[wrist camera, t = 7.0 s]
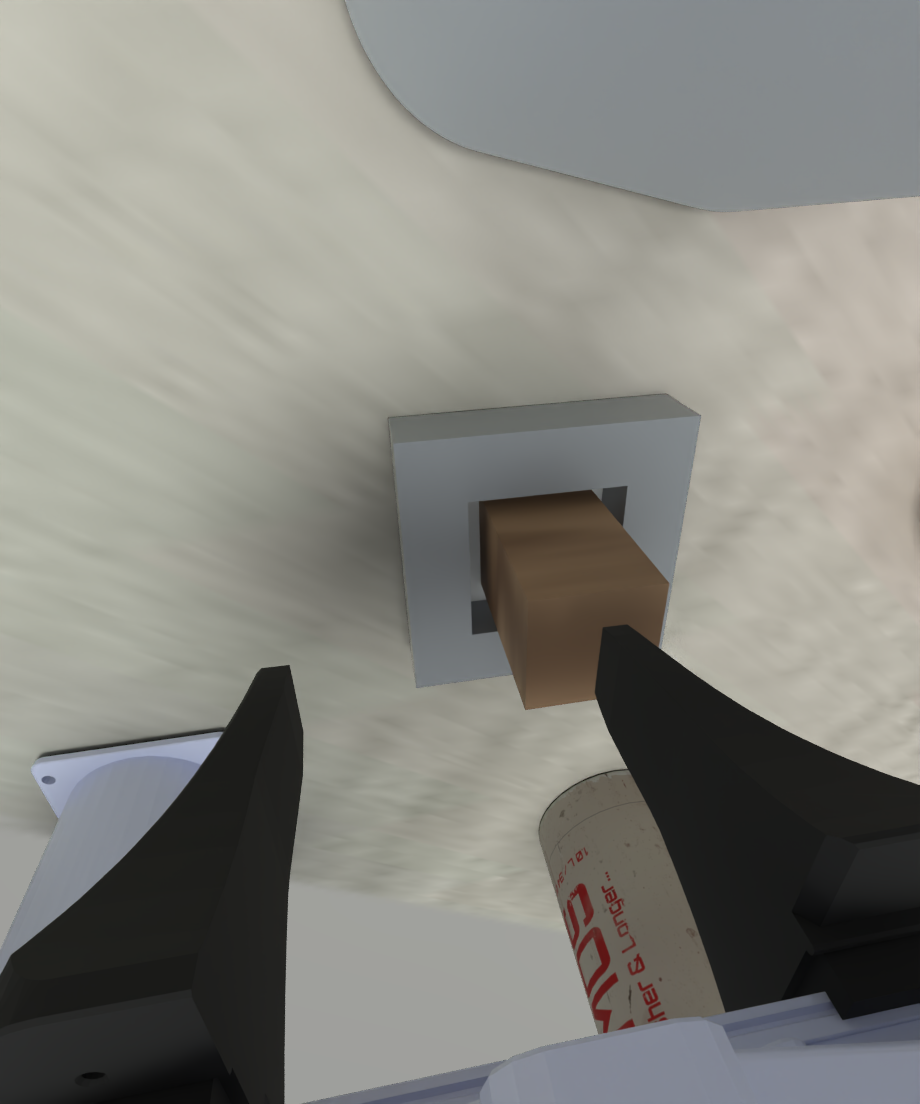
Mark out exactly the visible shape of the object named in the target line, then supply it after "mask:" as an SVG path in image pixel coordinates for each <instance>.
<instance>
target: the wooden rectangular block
mask: <svg viewBox="0 0 920 1104" xmlns="http://www.w3.org/2000/svg"><path fill="white" fill-rule="evenodd" d="M479 529H480V574H481V585H482V588H483V591H484V594H485V597H486V600H487V602H488V605H489V608H490V611H491V614H492V617H493V619H494V622H495V625H496V628H497V631H498V634H499V636H500V639H501V642H502V645H503V648H504V651H505V654H506V656H507V659H508V662H509V665H510V668H511V671H512V673H513V676H514V679H515V682H516V685H517V688H518V690H519V693H520V696H521V699H522V702H523V705H524V707H525V710H528V709H535V708H542V707H548V706H555V705H562V704H568V703H575V702H582V701H588V700H595V699H597V698H596V695H595V684H596V676H597V668H598V660H599V652H600V645H601V637H602V629H603V627H609V626H617V625H626V624H628V625H629V626H630V627H632V628H633V629H635V630H636V631H637V632H639V633H640V634H641V635H643V636H644V637H645V638H647V639H648V640H649V641H650V642H652V643H653V644H654V645H656V646H657V647H658V648H659V643H660V637H661V631H662V625H663V619H664V613H665V607H666V601H667V595H668V589H669V582H668V581H667V580H666V578H665V577H664V576H663V575H662V574H661V572H660V571H659V570H658V569H657V568H656V566H655V565H654V564H653V563H652V562H651V560H650V559H649V558H648V557H647V556H646V554H645V553H644V552H643V551H642V550H641V548H640V547H639V546H638V545H637V544H636V542H635V541H634V540H633V539H632V538H631V536H630V535H629V534H628V533H627V532H626V530H625V529H624V528H623V527H622V525H621V524H620V523H619V522H618V521H617V519H616V518H615V517H614V516H613V515H612V513H611V512H610V511H609V510H608V509H607V507H606V506H605V505H604V504H603V503H602V501H601V500H600V499H599V498H598V497H597V495H596V494H595V493H594V492H593V491H592V490H582V491H573V492H563V493H554V494H544V495H535V496H525V497H516V498H506V499H496V500H487V501H479Z"/></svg>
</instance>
